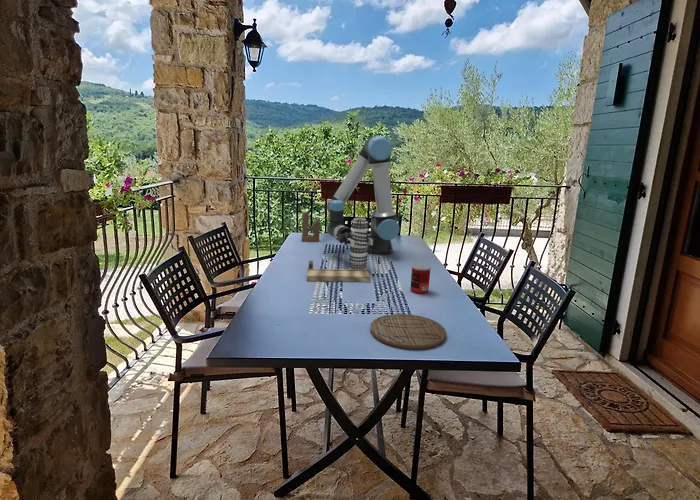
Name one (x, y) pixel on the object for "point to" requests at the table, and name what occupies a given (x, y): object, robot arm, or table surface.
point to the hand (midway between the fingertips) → (363, 243)
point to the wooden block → (305, 229)
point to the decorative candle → (359, 244)
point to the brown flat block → (310, 264)
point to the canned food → (420, 278)
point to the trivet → (408, 331)
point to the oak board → (338, 275)
